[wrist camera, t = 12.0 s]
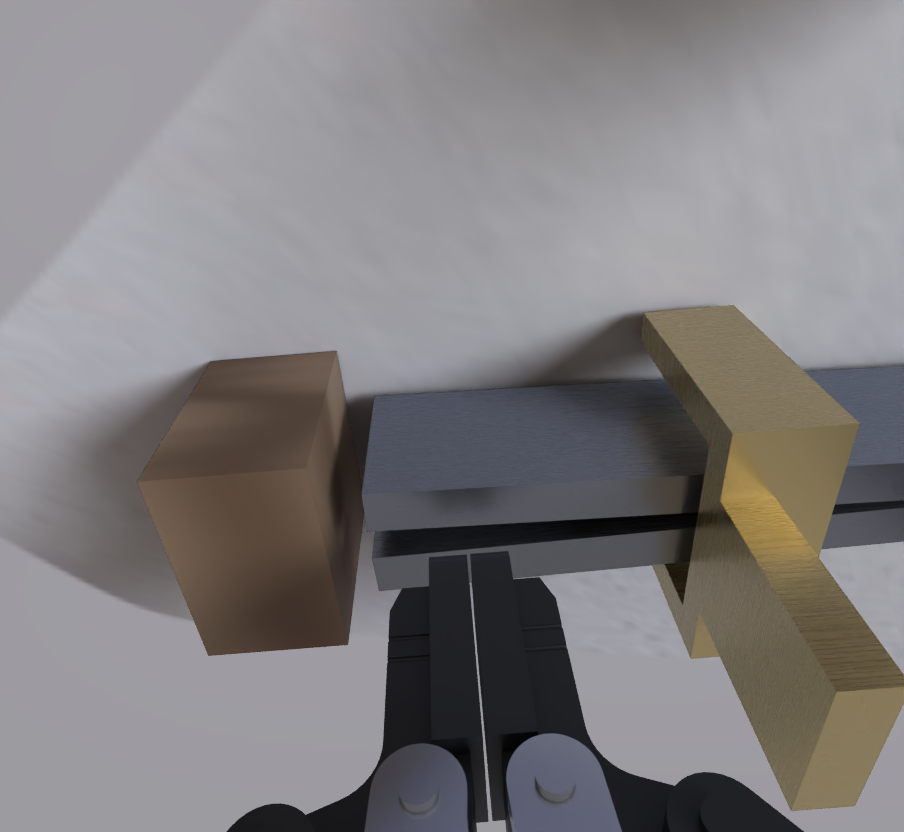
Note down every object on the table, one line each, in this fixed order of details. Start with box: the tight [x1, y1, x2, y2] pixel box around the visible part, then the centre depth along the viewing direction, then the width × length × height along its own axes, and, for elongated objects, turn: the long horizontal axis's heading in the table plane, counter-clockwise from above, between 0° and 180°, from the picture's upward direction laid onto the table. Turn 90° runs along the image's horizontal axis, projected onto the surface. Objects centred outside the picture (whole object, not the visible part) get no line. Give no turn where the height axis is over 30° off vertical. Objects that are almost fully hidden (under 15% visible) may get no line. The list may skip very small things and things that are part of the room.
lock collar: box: [641, 305, 904, 811], centre depth 13 cm, size 2×6×9 cm, turn 4°
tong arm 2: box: [362, 366, 904, 532], centre depth 15 cm, size 16×1×4 cm, turn 93°
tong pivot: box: [137, 351, 364, 656], centre depth 16 cm, size 3×5×5 cm, turn 4°
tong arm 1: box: [372, 500, 904, 591], centre depth 16 cm, size 16×1×4 cm, turn 95°
